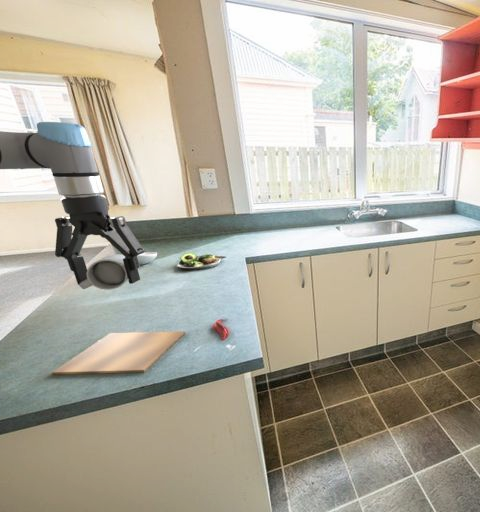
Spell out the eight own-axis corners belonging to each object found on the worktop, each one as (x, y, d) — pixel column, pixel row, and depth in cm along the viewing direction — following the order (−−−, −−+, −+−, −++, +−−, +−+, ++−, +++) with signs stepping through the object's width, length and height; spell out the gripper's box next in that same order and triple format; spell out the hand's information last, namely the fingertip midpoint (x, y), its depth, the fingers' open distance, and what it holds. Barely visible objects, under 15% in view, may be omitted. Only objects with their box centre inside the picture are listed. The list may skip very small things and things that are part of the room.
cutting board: (52, 374, 66) (51, 372, 66) (111, 334, 81) (110, 332, 81) (144, 372, 67) (144, 370, 67) (185, 333, 82) (185, 331, 82)
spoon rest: (135, 259, 142) (131, 245, 139) (163, 257, 144) (159, 243, 142) (104, 277, 120) (99, 261, 118) (138, 275, 123) (134, 259, 121)
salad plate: (227, 255, 149) (226, 246, 147) (227, 266, 134) (225, 256, 132) (182, 260, 141) (180, 251, 139) (176, 273, 125) (173, 262, 124)
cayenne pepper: (214, 321, 89) (213, 315, 88) (231, 318, 90) (230, 312, 90) (208, 343, 78) (207, 337, 77) (228, 339, 80) (227, 333, 79)
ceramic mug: (139, 275, 81) (131, 249, 79) (131, 286, 74) (122, 258, 72) (88, 283, 77) (78, 255, 74) (74, 295, 70) (63, 264, 67)
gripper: (148, 193, 73) (167, 275, 79) (44, 193, 71) (73, 277, 78) (125, 197, 66) (148, 287, 72) (9, 197, 64) (44, 289, 71)
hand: (109, 282), depth 75 cm, fingers closed on ceramic mug, 11 cm apart
